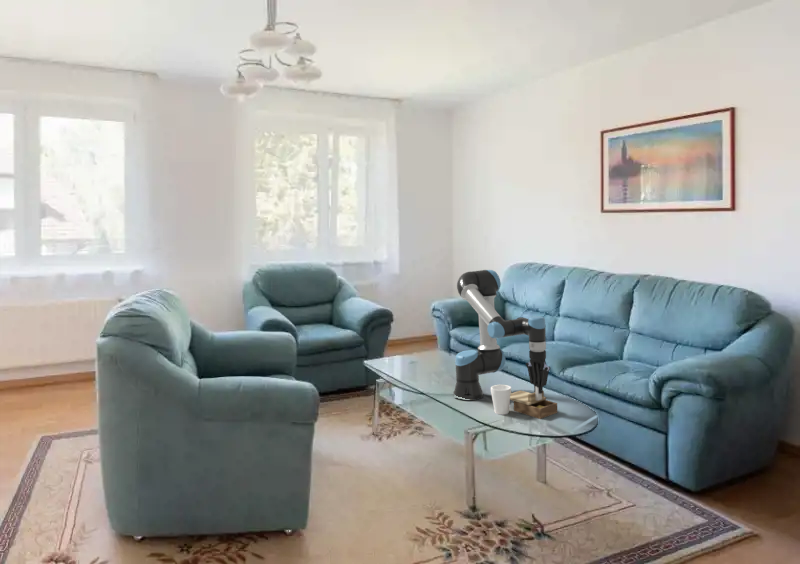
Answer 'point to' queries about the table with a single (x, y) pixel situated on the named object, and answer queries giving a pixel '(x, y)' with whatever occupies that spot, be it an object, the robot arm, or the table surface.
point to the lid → (525, 397)
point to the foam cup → (501, 398)
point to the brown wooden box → (537, 409)
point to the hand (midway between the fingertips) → (538, 399)
